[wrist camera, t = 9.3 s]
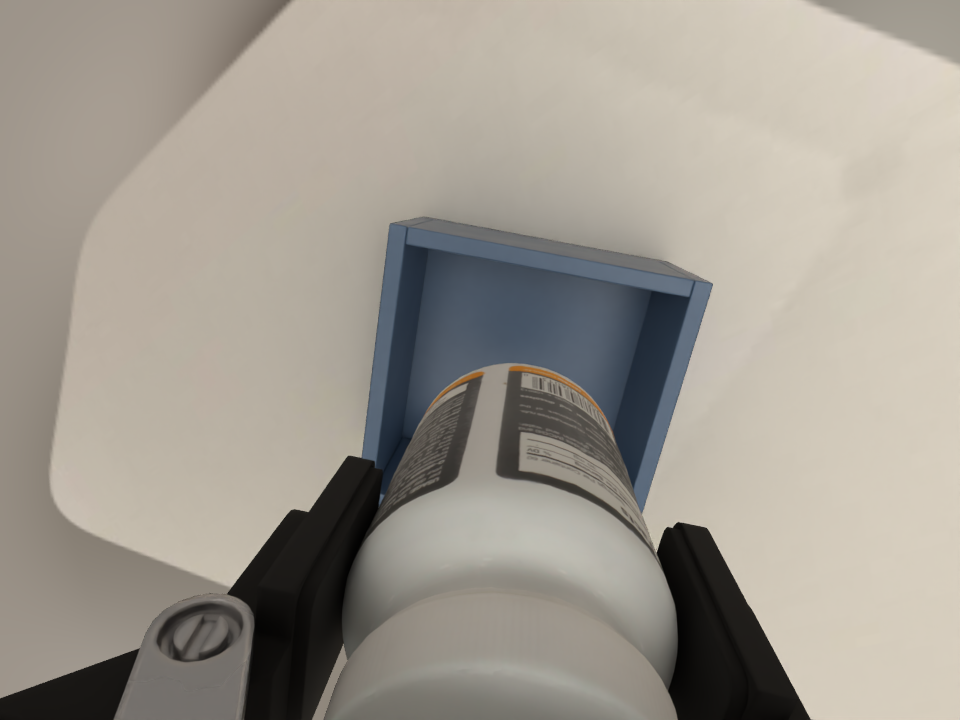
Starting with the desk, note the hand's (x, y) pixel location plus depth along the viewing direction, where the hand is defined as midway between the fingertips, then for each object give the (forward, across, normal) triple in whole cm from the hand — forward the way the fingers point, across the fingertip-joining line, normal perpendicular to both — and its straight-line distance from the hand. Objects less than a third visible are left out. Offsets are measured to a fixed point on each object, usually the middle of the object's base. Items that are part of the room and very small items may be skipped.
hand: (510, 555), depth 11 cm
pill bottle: (+5, 0, 0) cm, 5 cm away
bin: (+14, 0, 0) cm, 14 cm away
